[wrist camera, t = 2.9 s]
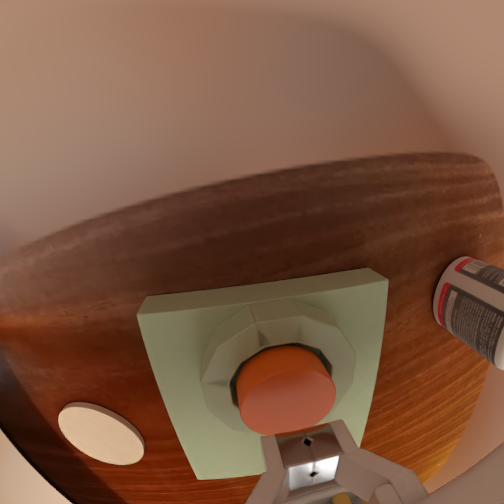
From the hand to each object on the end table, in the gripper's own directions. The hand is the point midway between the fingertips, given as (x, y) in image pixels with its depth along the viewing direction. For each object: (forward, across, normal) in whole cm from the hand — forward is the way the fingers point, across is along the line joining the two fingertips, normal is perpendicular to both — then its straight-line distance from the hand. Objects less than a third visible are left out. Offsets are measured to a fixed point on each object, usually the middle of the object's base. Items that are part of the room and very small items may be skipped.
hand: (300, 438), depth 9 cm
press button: (+3, 0, 0) cm, 3 cm away
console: (+7, 0, +3) cm, 8 cm away
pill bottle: (+7, -14, -1) cm, 16 cm away
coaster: (+7, +13, +7) cm, 17 cm away
